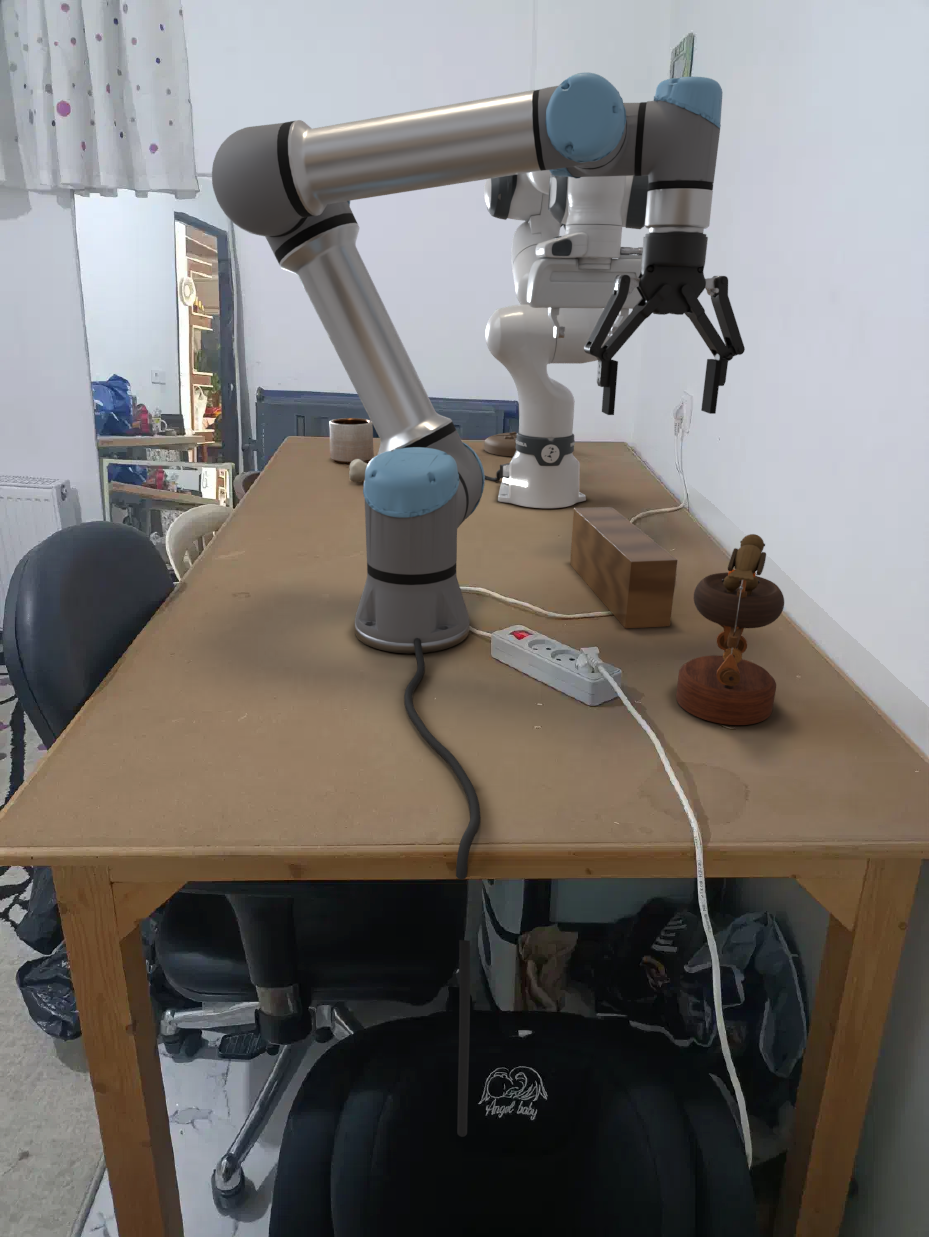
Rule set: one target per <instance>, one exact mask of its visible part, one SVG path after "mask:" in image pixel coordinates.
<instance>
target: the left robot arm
mask: <svg viewBox="0 0 929 1237" xmlns="http://www.w3.org/2000/svg"><path fill="white" fill-rule="evenodd" d="M722 106H723V88H722V87H721V85H720V83H719V82H718V81H717V80H715V79H713V78H710V77H705V76H680V77H672V78H668V79H667V78H666V79H664V80H662V81H661V82H659V84H657V86H656V88H655V94H654V96H653V100H648V101H641V102H624V99H623V97H622V96H621V94H620V92H619V90H618V89H617V88H616V86H614V84H612V82H610V81H609V80H608V79H606V77H604V76H602V75H600V74H598V73H596V72H595V73H594V72H579V73H576V74H572V75H571V76H569V77H567V78H566V79H564V80H563V81H561V83H560V84H558V85H555V86H548V87H544V88H540V89H532V90H525V91H521V92H514V93H509V94H502V95H497V96H492V97H485V98H480V99H475V100H474V99H473V100H468V101H463V102H457V103H452V104H451V103H450V104H445V105H440V106H439V105H438V106H434V107H429V108H423V109H417V110H411V111H406V112H400V113H393V114H389V115H383V116H376V117H371V118H366V119H360V120H353V121H349V122H342V123H337V124H330V125H325V126H320V127H319V126H318V127H313V128H312V127H311V126H310V125H309V124H308V123H306V121H304V120H302V119H298V120H291V121H286V122H285V121H284V122H279V123H271V124H263V125H253V126H247V127H243V128H241V129H238V130H236V131H235V132H233V133H231V134H230V135H229V136H228V137H226V138H225V140H224V141H222V143H221V144H220V146H219V148H218V149H217V151H216V153H215V155H214V159H213V162H212V168H211V183H212V184H211V185H212V189H213V193H214V196H215V199H216V202H217V203H218V206H219V207H220V209H221V211H222V212H223V214H224V215H225V216H226V217H227V218H228V219H229V220H230V222H232V223H233V224H234V225H236V226H237V227H239V228H240V229H241V230H243V231H245V232H247V233H249V234H252V235H256V236H261V237H264V238H265V240H266V242H267V244H268V246H269V248H270V249H271V251H272V253H273V255H274V257H275V260H276V261H277V263H278V265H279V266H280V269H282V270H284V271H287V272H290V273H292V274H295V275H296V276H297V277H298V278H299V281H300V283H301V285H302V288H303V289H304V290H305V291H304V292H305V293H306V295H307V297H308V298H309V301H310V302H311V304H312V307H313V308H314V310H315V313H316V314H317V316H318V318H319V320H320V322H321V324H322V326H323V329H324V330H325V333H326V334H327V336H328V338H329V340H330V342H331V344H332V346H333V348H334V350H335V353H336V354H337V356H338V358H339V359H340V362H341V364H342V366H343V368H344V370H345V372H346V374H347V376H348V379H349V380H350V382H351V384H352V386H353V388H354V390H355V393H356V395H357V396H358V398H359V400H360V401H361V404H362V406H363V407H364V410H365V411H366V414H367V416H368V419H369V420H371V422H372V425H373V429H375V432H376V434H377V435H378V437H379V439H380V445H379V448H378V451H377V455H374V457H373V459H372V460H370V461H368V463H367V464H368V465H367V467H366V470H365V480H363V489H362V494H363V497H364V520H365V545H366V546H365V550H366V579H365V584H364V586H363V589H362V592H361V596H360V600H359V602H358V606H357V609H356V612H355V618H354V633H355V636H356V638H357V639H358V640H359V641H360V642H362V643H363V644H365V645H367V646H368V647H371V648H374V649H377V650H380V651H384V652H390V653H396V654H397V653H398V654H415V659H416V660H415V661H416V665H417V666H416V672H415V674H414V676H413V678H412V679H411V680H410V682H409V683H408V685H407V687H406V688H405V689H404V690H405V691H404V697H403V699H404V707H405V711H406V713H407V715H408V717H409V719H410V721H411V722H412V724H413V725H414V726H415V728H416V730H417V731H418V732H419V734H420V735H421V737H422V739H424V740H425V742H426V743H427V744H428V745H429V746H430V747H431V748H432V749H433V750H434V751H435V752H436V753H437V754H438V755H439V756H440V757H441V758H442V759H443V760H444V761H445V762H446V763H447V765H448V766H449V767H450V768H451V769H452V771H453V773H454V774H455V776H456V777H457V779H458V781H459V782H460V784H461V786H462V787H463V788H462V789H463V791H464V793H465V796H466V799H467V802H468V806H469V807H468V808H469V822H468V824H467V826H466V829H465V831H464V832H463V834H462V837H461V839H460V842H459V845H458V850H457V857H456V868H455V877H456V878H457V879H458V880H466V878H467V877H468V862H469V854H470V850H471V846H472V844H473V841H474V839H475V837H476V835H477V833H478V831H479V828H480V825H481V806H480V800H479V797H478V794H477V792H476V789H475V787H474V785H473V783H472V781H471V779H470V777H469V776H468V774H467V773H466V771H465V770H464V768H463V766H462V765H461V763H460V762H459V760H457V758H456V757H455V755H454V754H452V752H451V751H450V750H449V749H448V748H447V747H446V746H445V745H443V744H442V743H441V741H439V740H438V739H437V738H436V737H435V735H433V734H432V732H430V730H429V729H428V728H427V726H426V724H425V723H424V721H423V720H422V719H421V717H420V716H419V714H418V713H417V710H416V708H415V705H414V701H413V695H414V692H415V690H416V688H417V687H418V685H419V684H420V683H421V681H422V680H423V677H424V674H425V671H426V670H425V668H426V660H425V657H424V654H425V653H433V652H439V651H443V650H446V649H449V648H452V647H455V646H457V645H458V644H460V643H462V642H463V641H464V640H466V639H467V637H468V636H469V634H470V616H469V612H468V608H467V606H466V601H465V599H464V596H463V593H462V589H461V586H460V583H459V581H458V577H457V561H458V560H457V559H458V558H457V557H458V556H457V554H458V529H459V527H460V526H461V525H462V524H463V523H464V522H465V520H467V519H468V518H469V517H471V515H472V514H473V513H474V512H475V511H476V510H477V508H478V506H479V504H480V502H481V499H482V496H483V494H484V489H485V484H486V479H485V476H486V475H485V469H484V466H483V463H482V461H481V459H480V457H479V455H478V454H477V452H476V451H475V450H474V449H473V448H472V447H471V446H469V444H467V443H465V442H463V441H462V438H461V437H460V434H459V432H458V431H457V428H456V426H455V423H454V422H453V420H452V418H450V417H447V416H444V415H441V414H439V413H438V412H437V413H436V410H435V407H434V405H433V404H432V401H431V399H430V397H429V395H428V392H427V391H426V389H425V387H424V385H423V383H422V381H421V378H420V376H419V375H418V372H417V370H416V368H415V366H414V364H413V362H412V360H411V358H410V355H409V353H408V351H407V350H406V347H405V345H404V343H403V341H402V339H401V337H400V335H399V333H398V331H397V329H396V327H395V325H394V322H393V320H392V319H391V316H390V314H389V312H388V310H387V308H386V306H385V304H384V301H383V300H382V298H381V296H380V293H379V292H378V289H377V287H376V285H375V283H374V280H373V278H372V277H371V275H370V273H369V271H368V269H367V266H366V264H365V263H364V260H363V259H362V256H361V254H360V252H359V250H358V248H357V245H356V243H357V239H358V235H359V232H360V226H359V223H358V221H357V218H356V217H355V215H354V213H353V210H352V208H351V206H350V205H351V201H356V200H362V199H369V198H375V197H382V196H388V195H396V194H400V193H408V192H414V191H419V190H420V191H421V190H426V189H432V188H438V187H445V186H451V185H452V186H453V185H458V184H465V183H471V182H477V181H485V180H486V179H491V178H497V177H503V176H510V175H516V174H522V173H529V172H535V171H543V170H549V171H550V173H551V174H553V175H554V176H563V177H573V178H575V179H578V178H581V177H601V176H648V178H649V184H648V193H647V205H646V217H645V226H644V227H645V228H646V229H647V230H648V231H649V232H648V233H646V234H645V236H643V237H642V247H643V250H642V262H641V273H640V275H639V277H638V278H635V277H630V276H629V275H617V276H616V277H615V279H614V285H613V291H612V295H611V297H610V299H609V300H608V302H607V304H606V306H605V308H603V309H604V310H603V312H602V314H601V316H600V318H599V320H598V322H597V323H596V325H595V327H594V329H593V331H592V333H591V335H590V337H589V339H588V341H587V343H586V344H585V347H584V351H585V352H586V353H588V354H590V355H593V356H595V357H596V358H597V359H598V360H597V374H596V384H597V386H598V387H600V388H602V400H601V402H602V403H601V413H603V414H605V415H607V416H615V409H616V408H615V407H616V406H615V405H616V395H617V394H616V393H617V382H618V371H619V370H618V369H619V360H615V359H613V358H614V357H615V355H616V354H617V353H618V352H619V351H620V350H621V348H622V347H623V346H624V345H625V343H626V342H628V341H629V339H630V338H631V337H632V335H633V334H634V333H635V332H636V331H637V330H638V329H639V327H640V326H641V325H642V324H643V323H644V321H645V320H647V319H648V318H649V317H650V316H651V315H652V314H654V315H663V316H665V315H668V314H670V315H677V316H679V315H680V316H681V315H682V316H684V315H685V316H686V317H687V318H688V319H689V321H690V322H691V323H692V325H693V326H694V328H695V330H696V331H697V332H698V334H699V336H700V337H701V339H702V340H703V341H704V344H705V345H706V346H707V348H708V350H709V351H710V353H711V354H712V356H713V357H714V358H707V359H706V367H705V374H704V384H703V393H702V400H701V401H702V402H701V411H702V412H704V413H707V414H711V415H712V414H713V415H714V414H715V415H716V412H717V405H718V396H719V388H720V387H724V386H725V384H726V381H727V373H728V365H729V361H732V359H733V358H734V357H736V356H741V355H743V354H744V353H745V350H746V348H745V345H744V341H743V338H742V335H741V332H740V328H739V326H738V322H737V319H736V316H735V313H734V309H733V306H732V303H731V300H730V297H729V278H728V276H726V275H714V276H712V277H705V274H704V270H705V265H706V259H707V258H706V257H707V250H708V239H709V237H708V236H707V234H706V233H704V230H705V229H706V230H707V229H708V228H709V227H710V224H711V223H710V222H711V214H712V203H713V193H714V191H713V190H714V182H715V174H716V167H717V160H718V149H719V144H720V143H719V142H720V132H721V128H722V125H721V121H722ZM634 288H637V290H638V292H639V293H640V295H641V297H642V298H641V300H640V301H639V302H638V303H637V304H636V305H635V307H634V308H633V309H632V310H631V312H629V315H628V317H627V318H626V319H625V320H624V321H623V323H622V324H621V325H620V326H619V327H618V328H617V330H616V331H615V332H614V333H613V334H612V336H611V337H610V338H609V339H608V340H607V341H606V343H605V344H604V345H603V343H604V341H605V339H606V337H607V335H608V333H609V331H610V330H611V328H612V326H613V324H615V323H616V321H617V319H618V317H619V316H618V314H619V313H620V311H621V309H622V307H623V305H624V303H625V301H626V299H627V296H628V295H630V294H631V293H632V292H633V290H634ZM705 290H706V294H707V295H708V296H710V301H711V305H712V308H713V310H714V313H715V317H716V319H717V322H718V323H717V324H718V325H719V329H720V332H721V335H722V337H723V339H722V337H721V336H720V334H719V332H718V331H717V329H716V327H714V324H713V323H712V321H711V320H710V318H709V316H708V315H707V313H706V309H705V308H704V306H703V305H702V303H701V301H700V300H699V297H700V296H701V295H702V293H703V292H704V291H705ZM602 345H603V346H602ZM458 941H459V942H458V945H459V946H458V948H459V950H458V951H459V952H458V953H459V955H458V958H459V959H458V960H459V1011H458V1012H459V1016H458V1017H459V1019H458V1021H459V1022H458V1025H459V1026H458V1070H457V1071H458V1072H457V1073H458V1074H457V1077H458V1078H457V1079H458V1080H457V1131H456V1132H457V1133H456V1134H457V1135H458V1136H459V1137H461V1138H463V1137H464V1138H465V1137H466V1136H467V1135H468V1109H469V1108H468V1105H469V1104H468V1103H469V1067H470V1066H469V1064H470V1027H471V1026H470V1024H471V940H467V939H466V940H465V939H458Z"/></svg>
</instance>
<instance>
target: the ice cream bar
mask: <svg viewBox="0 0 929 1237" xmlns="http://www.w3.org/2000/svg"><path fill="white" fill-rule="evenodd" d="M517 433H518V432H516V431H511V432H502V433H498V434H493V435H490V436H488V437H487V438H485V439H484V443H483V450H484V451H485V452H486V453H489V454H492V455H496V456H501V457H502V456H503V457H513V456H514V455H515V453H516V448H515V447H516V437H517Z"/></svg>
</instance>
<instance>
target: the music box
mask: <svg viewBox="0 0 929 1237" xmlns="http://www.w3.org/2000/svg"><path fill="white" fill-rule="evenodd" d="M741 539H742V540H740V541H739V543H740V544H739V545H740V547H739V548H737V547H735V548H733V550H732V552H731V556H730V559H729V562H728V565H727V571H728V572H717V573H716V572H715V573H712V574H708V575H707V576H705V577H703V578H702V579H701V580H700V581H699V582H698V583H697V584H696V586H695V588H694V592H693V603H694V606H695V608H696V610H697V611H698V613H699V614H700V615H701V616H702V617H703V618H705V619H706V620H708V621H710V622H712V623H715V624H717V625H719V626H720V627H722V628H723V630H722V631H721V632H719V633H718V635H717V637H716V645H717V647H718V649H720V650H722V651H723V653H722V655H702V656H698V657H694V658H693V659H690V660H689V661H687V662H685V663H684V664H682V666H680V668H679V670H678V678H677V685H676V694H675V699H676V702H677V703H678V705H679V706H680V707H681V708H682V709H683V710H684V711H686V712H687V713H689V714H691V715H692V716H694V717H696V718H699V719H701V720H705V721H707V722H712V723H716V724H721V725H729V726H746V725H748V726H749V725H753V724H758V723H760V722H763V721H765V720H767V719H769V717H770V716H771V715H772V713H773V708H774V702H775V697H776V692H777V681H776V680H775V678H774V677H773V676H772V674H770V672H768V670H766V668H764V667H763V666H760V665H759V664H757V663H755V662H752V661H750V660H746V659H743V653H745V652H746V651H747V648H748V641H747V639H746V638H745V637H744V636H743V633H744V630H745V629H758V628H759V629H760V628H763V627H766V626H769V625H771V624H772V623H775V621H777V620H778V618H779V617H780V616H781V615H782V613H783V610H784V608H785V607H784V606H785V597H784V594H783V591H782V590H781V588H780V587H779V586H778V585H777V584H776V583H775V582H773V581H771V580H770V579H767V578H764V577H761V575H762V573H763V571H764V568H765V564H766V560H767V552H766V551H764V549H765V547H766V543H765V542H764V539H763V538H762V537H761V536H760V535H758V534H755V533H750V534H747V535H745V536H744V537H742V538H741Z"/></svg>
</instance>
